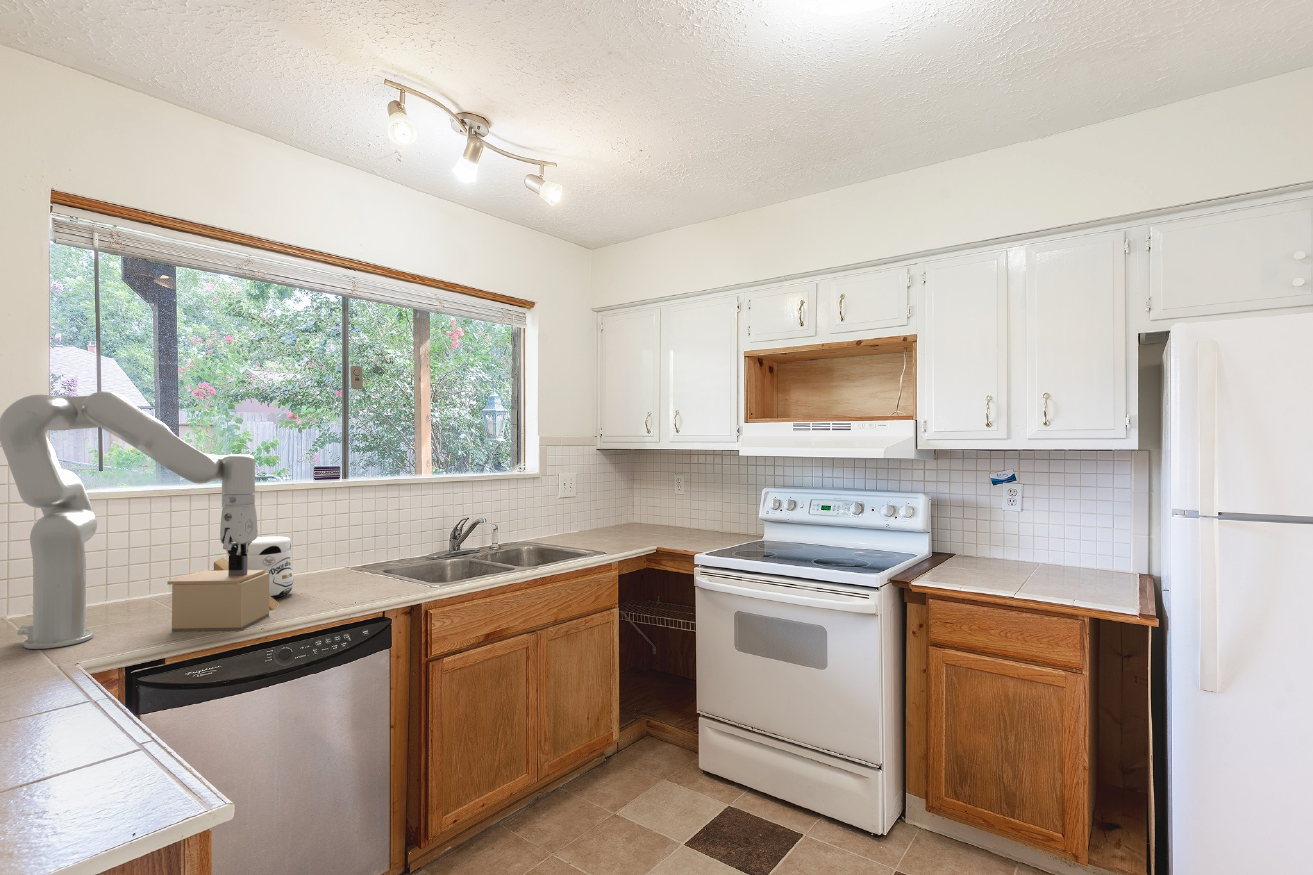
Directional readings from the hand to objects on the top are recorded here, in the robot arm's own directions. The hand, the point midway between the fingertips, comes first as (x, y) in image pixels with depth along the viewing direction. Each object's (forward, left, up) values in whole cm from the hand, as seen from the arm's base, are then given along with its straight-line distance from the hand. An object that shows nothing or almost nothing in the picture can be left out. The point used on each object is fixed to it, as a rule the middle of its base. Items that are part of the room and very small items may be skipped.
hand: (237, 568), depth 176 cm
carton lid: (-5, 0, -3) cm, 6 cm away
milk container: (-9, +30, -15) cm, 35 cm away
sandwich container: (-6, +16, -15) cm, 23 cm away
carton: (-4, 0, -15) cm, 15 cm away
